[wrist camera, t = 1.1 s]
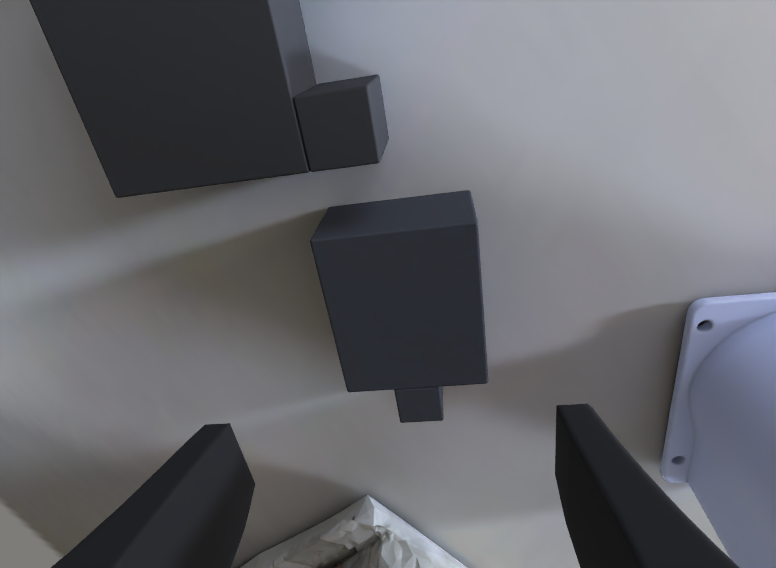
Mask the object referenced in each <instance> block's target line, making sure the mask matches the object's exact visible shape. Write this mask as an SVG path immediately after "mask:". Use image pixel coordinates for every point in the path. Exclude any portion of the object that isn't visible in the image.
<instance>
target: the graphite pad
mask: <svg viewBox="0 0 776 568" xmlns="http://www.w3.org/2000/svg"><path fill="white" fill-rule="evenodd" d="M310 243H311V247H312V251H313V255H314V259H315V263H316V267H317V271H318V275H319V279H320V283H321V287H322V291H323V295H324V299H325V303H326V307H327V311H328V315H329V319H330V323H331V327H332V331H333V335H334V339H335V343H336V347H337V351H338V355H339V359H340V363H341V367H342V371H343V375H344V379H345V383H346V387H347V391H348V392H360V391H376V390H392V389H395V390H394V391H395V396H396V402H397V407H398V412H399V417H400V422H402V423H404V422H423V421H442V420H443V389H442V386H455V385H471V384H486V383H488V369H487V354H486V339H485V324H484V309H483V294H482V279H481V264H480V249H479V234H478V222H477V218H476V213H475V209H474V205H473V200H472V196H471V192H470V191H469V190H467V191H459V192H451V193H442V194H434V195H426V196H418V197H409V198H401V199H393V200H385V201H377V202H368V203H360V204H352V205H344V206H335V207H329V208H328V210H327V212H326V213H325V215H324V217H323V219H322V220H321V222H320V224H319V226H318V228H317V229H316V231H315V233H314V235H313V237H312V238H311V240H310Z"/></svg>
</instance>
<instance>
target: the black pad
mask: <svg viewBox="0 0 776 568" xmlns="http://www.w3.org/2000/svg"><path fill="white" fill-rule="evenodd" d="M29 1H30V3H31V5H32V7H33V10H34V12H35V14H36V16H37V19H38V21H39V23H40V26H41V28H42V30H43V32H44V35H45V37H46V39H47V42H48V44H49V46H50V48H51V51H52V53H53V55H54V57H55V60H56V62H57V64H58V67H59V69H60V71H61V73H62V76H63V78H64V80H65V83H66V85H67V87H68V89H69V92H70V94H71V96H72V98H73V101H74V103H75V105H76V108H77V110H78V112H79V114H80V117H81V119H82V121H83V124H84V126H85V128H86V130H87V133H88V135H89V137H90V139H91V142H92V144H93V146H94V149H95V151H96V153H97V155H98V158H99V160H100V162H101V164H102V167H103V169H104V171H105V174H106V176H107V178H108V180H109V183H110V185H111V187H112V190H113V192H114V194H115V196H116V197H117V198H121V197H128V196H136V195H143V194H151V193H158V192H166V191H173V190H181V189H188V188H196V187H203V186H211V185H218V184H226V183H233V182H241V181H248V180H256V179H263V178H271V177H278V176H286V175H293V174H301V173H308V172H310V171H311V172H316V171H324V170H331V169H339V168H346V167H354V166H361V165H369V164H376V163H379V162H380V160H381V158H382V155H383V152H384V150H385V147H386V144H387V142H388V131H387V124H386V118H385V111H384V104H383V97H382V91H381V84H380V77H379V75H372V76H366V77H359V78H353V79H347V80H341V81H334V82H328V83H322V84H318V85H316V81H315V76H314V71H313V66H312V61H311V57H310V52H309V47H308V42H307V37H306V33H305V28H304V23H303V18H302V13H301V8H300V4H299V0H29Z"/></svg>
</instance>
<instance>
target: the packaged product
mask: <svg viewBox="0 0 776 568" xmlns="http://www.w3.org/2000/svg"><path fill="white" fill-rule="evenodd" d="M240 568H467V567H465V566H464V565H463V564H461V563H460V562H459V561H457V560H456V559H455V558H453V557H452V556H451V555H449V554H448V553H447V552H445V551H444V550H443V549H441V548H440V547H439V546H437V545H436V544H435V543H433V542H432V541H431V540H429V539H428V538H427V537H425V536H424V535H423V534H421V533H420V532H419V531H417V530H416V529H414V528H413V527H412V526H410V525H409V524H408V523H406V522H405V521H403V520H402V519H401V518H399V517H398V516H397V515H395V514H394V513H392V512H391V511H390V510H388V509H387V508H385V507H384V506H383V505H381V504H380V503H379V502H377V501H376V500H374V499H373V498H372V497H370V496H369V495H366V496H365V497H363V498H361V499H360V500H358V501H357V502H355V503H353V504H352V505H350V506H348V507H347V508H345V509H344V510H342V511H340V512H339V513H337V514H336V515H334V516H332V517H331V518H329V519H327V520H325V521H323V522H321V523H319V524H317V525H315V526H313V527H311V528H310V529H308V530H306V531H304V532H302V533H300V534H298V535H296V536H294V537H292V538H290V539H289V540H287V541H284V542H282V543H280V544H278V545H276V546H274V547H272V548H270V549H268V550H266V551H264V552H262V553H260V554H258V555H257V556H256V557H254V558H253V559H251V560H250V561H249V562H247V563H246V564H244V565H243V566H242V567H240Z"/></svg>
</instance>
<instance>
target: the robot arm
mask: <svg viewBox="0 0 776 568" xmlns="http://www.w3.org/2000/svg"><path fill="white" fill-rule="evenodd" d="M705 320H707V321H706V323H705V324H703V325H701V326H697V325H698V324H699V323H700V322H701V321H705ZM676 456H677V457H676ZM660 473H661V475H662V477H663V479H664V480H665V481H667V482H671V483H683V482H688V483H689V485H690V487H691V488H692V490H693V492H694V494H695V496H696V497H697V499H698V501H699V503H700V505H701V506H702V508H703V510H704V512H705V514H706V515H707V517H708V519H709V521H710V522H711V524H712V526H713V528H714V530H715V531H716V533H717V535H718V537H719V539H720V540H721V542H722V544H723V546H724V547H725V549H726V551H727V553H728V555H729V556H730V558H731V559H730V558H729V557H728V556H727V555H726V554H725V553H724V552H723V551H721V550H720V549H719V548H718V547H717V546H716V545H715V544H714V543H713V542H712V541H711V540H710V539H709V538H708V537H707V536H706V535H705V534H704V533H703V532H702V531H701V530H700V529H699V528H698V527H697V526H696V525H695V524H694V523H693V522H692V521H691V520H690V519H689V518H688V517H687V516H686V515H685V514H684V513H683V512H682V511H681V510H680V509H679V508H678V507H677V506H676V504H675V503H674V502H673V501H672V500H671V499H670V498H669V497H668V496H667V495H666V494H665V493H664V492H663V491H662V489H661V488H660V487H659V486H658V485H657V484H656V483H655V482H654V481H653V480H652V479H651V477H650V476H649V475H648V474H647V473H646V472H645V471H644V470H643V469H642V467H641V466H640V465H639V464H638V463H637V462H636V461H635V459H634V458H633V457H632V456H631V455H630V454H629V452H628V451H627V450H626V449H625V448H624V446H623V445H622V444H621V443H620V442H619V441H618V439H617V438H616V437H615V436H614V434H613V433H612V432H611V431H610V429H609V428H608V427H607V426H606V424H605V423H604V422H603V421H602V419H601V418H600V417H599V415H598V414H597V413H596V412H595V410H594V409H593V408H592V407H591V406H590V405H588V404H574V405H557V409H556V456H555V475H556V480H557V485H558V489H559V494H560V499H561V503H562V508H563V512H564V516H565V521H566V525H567V528H568V531H569V534H570V537H571V540H572V543H573V546H574V549H575V552H576V555H577V558H578V561H579V564H580V567H581V568H776V292H770V293H758V294H746V295H734V296H722V297H710V298H702V299H698V300H696V301H695V302H693V303H692V304H691V305H690V306H689V308H688V311H687V316H686V322H685V328H684V333H683V339H682V345H681V351H680V357H679V362H678V368H677V374H676V380H675V386H674V391H673V397H672V403H671V409H670V415H669V420H668V426H667V432H666V438H665V444H664V449H663V455H662V461H661V467H660ZM254 487H255V483H254V480H253V478H252V475H251V473H250V471H249V468H248V466H247V463H246V461H245V459H244V456H243V454H242V451H241V449H240V447H239V444H238V442H237V440H236V437H235V435H234V432H233V430H232V428H231V425H230V423H229V424H210V425H204V426H203V427H202V428H201V429H200V430H199V431H198V432H197V433H196V434H194V435H193V436H192V437H191V438H190V439H189V440H188V441H187V442H186V443H185V444H184V445H183V446H182V447H181V448H180V449H179V450H178V451H177V452H176V453H175V454H174V455H173V456H172V457H171V458H170V459H169V460H168V461H167V462H166V463H165V464H164V465H163V466H162V467H161V468H160V469H158V470H157V471H156V472H155V473H154V474H153V475H152V476H151V477H150V478H149V479H148V480H147V481H146V482H145V483H144V484H143V485H142V486H141V487H140V488H139V489H138V490H137V491H136V492H135V493H134V494H133V495H132V496H131V497H130V498H128V499H127V500H126V501H125V502H124V503H123V504H122V505H121V506H120V507H119V508H118V509H117V510H116V511H115V512H113V513H112V514H111V515H110V516H109V517H108V518H107V519H106V520H105V521H103V522H102V523H101V524H100V525H99V526H98V527H97V528H96V529H95V530H94V531H92V532H91V533H90V534H89V535H88V536H87V537H86V538H85V539H84V540H82V541H81V542H80V543H79V544H78V545H77V546H76V547H75V548H74V549H72V550H71V551H70V552H69V553H68V554H67V555H65V556H64V557H63V558H62V559H61V560H59V561H58V562H57V563H56V564H55V565H53V566H52V567H51V568H230V567H231V565H232V562H233V559H234V556H235V554H236V551H237V548H238V546H239V543H240V540H241V537H242V534H243V532H244V528H245V525H246V521H247V517H248V513H249V509H250V505H251V500H252V496H253V492H254Z"/></svg>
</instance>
